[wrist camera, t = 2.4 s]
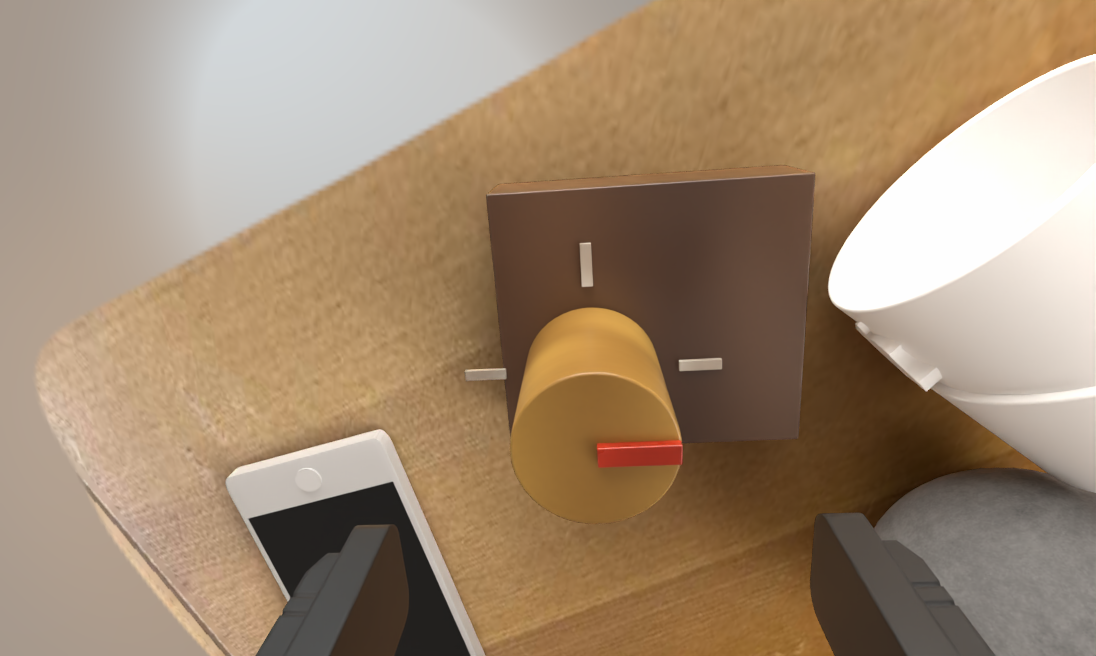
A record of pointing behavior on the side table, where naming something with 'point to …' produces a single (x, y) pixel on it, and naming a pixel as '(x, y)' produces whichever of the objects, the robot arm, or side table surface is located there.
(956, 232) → the mug
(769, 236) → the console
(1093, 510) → the decorative ball
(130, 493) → the side table surface
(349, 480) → the smartphone
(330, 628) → the robot arm
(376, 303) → the side table surface
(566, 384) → the knob
